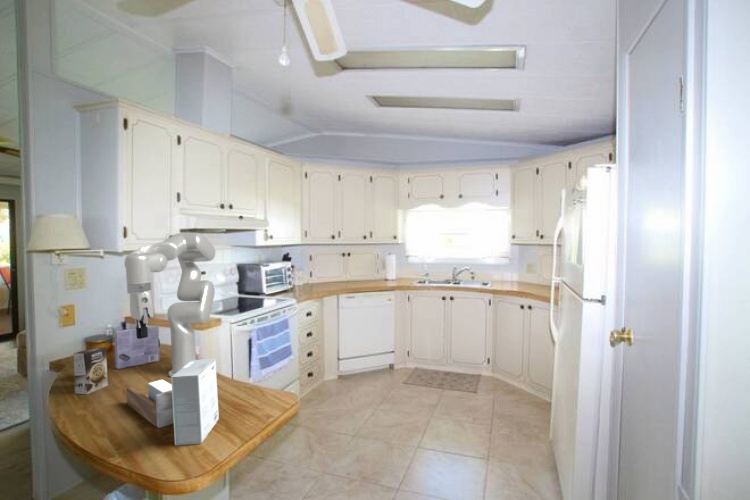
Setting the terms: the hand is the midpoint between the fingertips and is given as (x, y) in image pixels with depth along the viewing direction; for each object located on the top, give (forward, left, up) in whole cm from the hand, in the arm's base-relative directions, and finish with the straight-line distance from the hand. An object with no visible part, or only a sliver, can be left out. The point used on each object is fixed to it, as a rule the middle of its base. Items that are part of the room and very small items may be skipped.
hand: (142, 337), depth 140 cm
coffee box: (+9, -31, -24) cm, 40 cm away
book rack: (0, +12, -23) cm, 26 cm away
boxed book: (0, +19, -23) cm, 30 cm away
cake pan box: (-15, -54, -24) cm, 60 cm away
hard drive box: (-2, +40, -24) cm, 47 cm away
